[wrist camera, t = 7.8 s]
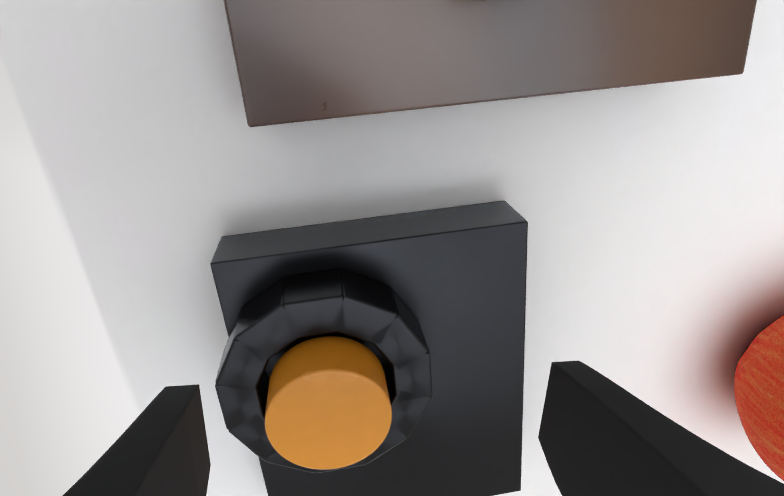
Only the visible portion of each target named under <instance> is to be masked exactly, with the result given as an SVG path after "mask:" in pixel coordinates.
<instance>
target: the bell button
mask: <svg viewBox="0 0 784 496" xmlns="http://www.w3.org/2000/svg"><path fill="white" fill-rule="evenodd" d="M391 421H392V408H391V403H390V398H389V394H388V389H387V384H386V379H385V374H384V370H383V367H382V365H381V363H380V361H379V359H378V358H377V357H376V355H375V354H374V353H373V352H372V351H371V350H370V349H368V348H367V347H366V346H364V345H363V344H361V343H359V342H357V341H354V340H352V339H349V338H345V337H338V336H322V337H316V338H312V339H309V340H306V341H303V342H301V343H299V344H297V345H295V346H294V347H292V348H291V349H289V350H288V351H287V352H286V353H285V354H284V355H283V356H282V357H281V358H280V359H279V360H278V361H277V363H276V364H275V366H274V368H273V370H272V373H271V375H270V380H269V387H268V396H267V404H266V413H265V430H266V434H267V437H268V439H269V441H270V443H271V445H272V446H273V447H274V449H275V450H276V451H277V452H278V453H279V454H280V455H281V456H282V457H284V458H285V459H287V460H288V461H290V462H292V463H294V464H297V465H299V466H302V467H306V468H311V469H321V470H325V469H337V468H341V467H346V466H349V465H352V464H354V463H356V462H359V461H361V460H362V459H364V458H366V457H367V456H369V455H370V454H371V453H373V452H374V451H375V450H376V449H377V448H378V447H379V446H380V445H381V443H382V442H383V441H384V439H385V438H386V436H387V434H388V432H389V429H390V426H391Z"/></svg>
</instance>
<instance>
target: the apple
mask: <svg viewBox="0 0 784 496" xmlns="http://www.w3.org/2000/svg"><path fill="white" fill-rule="evenodd" d="M734 393H735V401H736V406H737V410H738V414H739V417H740V420H741V423H742V425H743V428H744V430H745V432H746V435H747V437H748V439H749V441H750V442H751V444H752V446H753V447H754V449H755V450H756V452H757V453H758V455H759V456H760V458H761V459H762V460H763V461H764V463H765V464H766V465H767V466H768V467H769V468H770V469H771V470H772V471H773V472H774V473H775V474H776V475H777V476H778V477H779V478H781V479H782V480H783V481H784V315H783V316H782V317H780V318H779V319H777V320H776V321H774V322H773V323H771V324H770V325H769V326H768V327H766V328H765V329H764V330H763V331H761V332H760V333H759V334H758V335H757V336H756V338H755V339H754V340H753V341H752V343H751V344H750V346H749V347H748V348H747V350H746V351H745V352H744V354H743V355H742V356H741V358H740V360H739V361H738V364H737V367H736V370H735V376H734Z"/></svg>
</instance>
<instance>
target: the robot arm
mask: <svg viewBox="0 0 784 496" xmlns="http://www.w3.org/2000/svg"><path fill="white" fill-rule="evenodd" d="M538 438H539V441H540V444H541V446H542V449H543V452H544V454H545V457H546V460H547V463H548V465H549V467H550V470H551V472H552V475H553V477H554V480H555V482H556V484H557V486H558V488H559V490H560V492H561V494H562V496H784V484H783V483H781V482H779V481H777V480H775V479H773V478H771V477H769V476H767V475H765V474H763V473H761V472H760V471H758V470H756V469H754V468H752V467H750V466H748V465H746V464H745V463H743V462H741V461H739V460H737V459H736V458H734V457H732V456H730V455H729V454H727V453H725V452H723V451H722V450H720V449H718V448H717V447H715V446H713V445H711V444H710V443H708V442H706V441H705V440H703V439H701V438H700V437H698V436H696V435H695V434H693V433H691V432H690V431H688V430H686V429H685V428H683V427H682V426H680V425H678V424H677V423H675V422H674V421H672V420H671V419H669V418H667V417H666V416H664V415H663V414H661V413H660V412H658V411H657V410H655V409H653V408H652V407H650V406H649V405H647V404H646V403H644V402H643V401H641V400H640V399H638V398H637V397H635V396H634V395H632V394H631V393H629V392H628V391H626V390H625V389H623V388H622V387H620V386H619V385H617V384H615V383H614V382H612V381H611V380H609V379H608V378H606V377H605V376H603V375H602V374H600V373H599V372H597V371H595V370H594V369H592V368H591V367H589V366H587V365H585V364H584V363H582V362H580V361H566V362H552V364H551V370H550V375H549V381H548V386H547V392H546V398H545V403H544V409H543V414H542V420H541V425H540V431H539V436H538ZM209 472H210V458H209V451H208V444H207V437H206V430H205V423H204V416H203V409H202V402H201V395H200V389H199V385H185V386H169V387H165V388H164V389H163V390H162V391H161V392H160V393H159V394H158V395H157V396H156V398H155V399H154V400H153V401H152V402H151V403H150V404H149V405H148V406H147V407H146V409H145V410H144V411H143V412H142V413H141V414H140V415H139V416H138V418H137V419H136V420H135V421H134V422H133V423H132V424H131V425H130V427H129V428H128V429H127V430H126V431H125V432H124V433H123V434H122V435H121V437H119V439H118V440H117V441H116V442H115V443H114V444H113V445H112V446H111V447H110V448H109V449H108V450H107V451H106V452H105V453H104V454H103V456H102V457H101V458H100V459H99V460H98V461H97V462H96V463H95V464H94V465H93V466H92V467H91V468H90V469H89V470H88V471H87V472H86V473H85V474H84V475H83V476H82V477H81V478H80V479H79V480H78V481H77V482H76V483H75V484H74V485H73V486H72V487H71V488H70V489H69V490H68V491H67V492H66V493H65V494H64V495H63V496H206V493H207V486H208V479H209Z"/></svg>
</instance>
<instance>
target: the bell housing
mask: <svg viewBox="0 0 784 496" xmlns="http://www.w3.org/2000/svg"><path fill="white" fill-rule="evenodd" d="M527 230H528V222H527V221H526V220H525V219H524V218H523V217H522V216H521V215H520V214H519V213H518V212H516V211H515V210H514V209H513V208H512V207H511V206H510V205H509V204H508V203H507V202H506V201H499V202H491V203H483V204H475V205H467V206H460V207H452V208H444V209H436V210H428V211H420V212H412V213H405V214H397V215H389V216H381V217H373V218H365V219H357V220H350V221H342V222H334V223H326V224H318V225H310V226H302V227H295V228H287V229H279V230H271V231H263V232H255V233H247V234H240V235H232V236H224V237H221V240H220V242H219V245H218V247H217V249H216V252H215V254H214V256H213V259H212V261H211V264H210V265H211V269H212V273H213V277H214V281H215V285H216V289H217V293H218V297H219V301H220V305H221V309H222V313H223V317H224V321H225V325H226V329H227V333H228V337H229V339H228V341H227V344H226V346H225V349H224V352H223V356H222V359H221V363H220V367H219V370H218V374H217V378H216V384H215V388H216V391H217V395H218V399H219V402H220V406H221V410H222V413H223V417H224V420H225V424H226V428H227V429H228V430H229V432H230V433H231V434H233V435H234V436H235V437H236V438H237V439H238V440H240V441H241V442H242V443H243V444H244V445H246V446H247V447H248V448H249V449H250V450H252V451H253V452H254V453H255V454H256V455H258V457H259V461H260V465H261V469H262V473H263V477H264V481H265V485H266V489H267V493H268V496H493V495H499V494H504V493H510V492H515V491H520V490H521V456H522V419H523V381H524V343H525V306H526V268H527ZM322 336H338V337H345V338H349V339H352V340H354V341H357V342H359V343H361V344H363V345H364V346H366V347H367V348H368V349H370V350H371V351H372V352H373V353H374V354H375V355H376V357H377V358H378V359H379V361H380V363H381V365H382V367H383V370H384V374H385V379H386V384H387V389H388V394H389V398H390V403H391V408H392V421H391V426H390V429H389V432H388V434H387V436H386V438H385V439H384V441H383V442H382V443H381V445H380V446H379V447H378V448H377V449H376V450H375V451H374V452H373V453H371V454H370V455H369V456H367V457H366V458H364V459H362V460H361V461H359V462H356V463H354V464H352V465H349V466H346V467H341V468H337V469H325V470H321V469H311V468H306V467H302V466H299V465H297V464H294V463H292V462H290V461H288V460H287V459H285V458H284V457H282V456H281V455H280V454H279V453H278V452H277V451H276V450H275V449H274V447H273V446H272V445H271V443H270V441H269V439H268V437H267V434H266V430H265V413H266V404H267V396H268V387H269V380H270V375H271V373H272V370H273V368H274V366H275V364H276V363H277V361H278V360H279V359H280V358H281V357H282V356H283V355H284V354H285V353H286V352H287V351H288V350H289V349H291V348H292V347H294V346H295V345H297V344H299V343H301V342H303V341H306V340H309V339H312V338H316V337H322Z"/></svg>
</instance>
